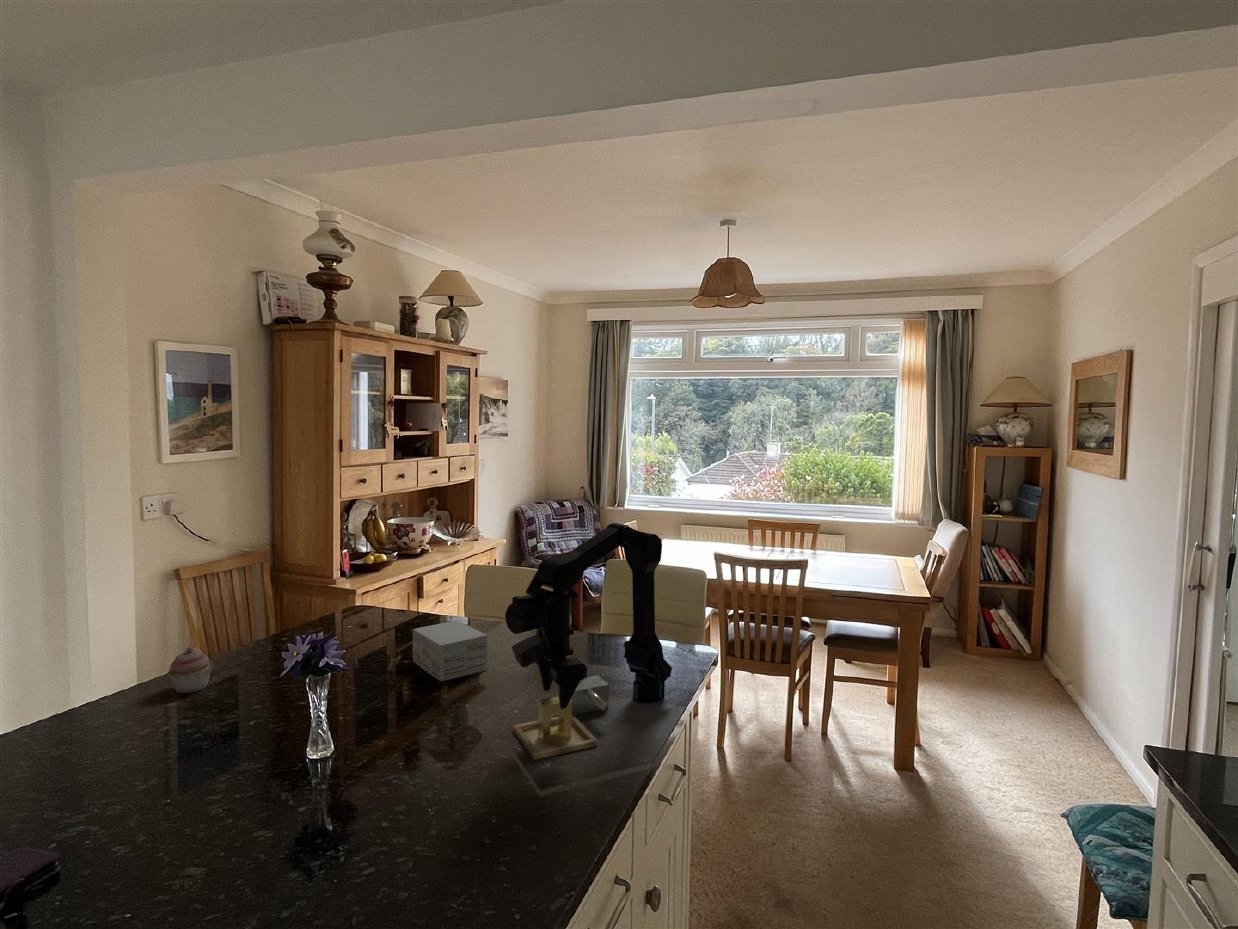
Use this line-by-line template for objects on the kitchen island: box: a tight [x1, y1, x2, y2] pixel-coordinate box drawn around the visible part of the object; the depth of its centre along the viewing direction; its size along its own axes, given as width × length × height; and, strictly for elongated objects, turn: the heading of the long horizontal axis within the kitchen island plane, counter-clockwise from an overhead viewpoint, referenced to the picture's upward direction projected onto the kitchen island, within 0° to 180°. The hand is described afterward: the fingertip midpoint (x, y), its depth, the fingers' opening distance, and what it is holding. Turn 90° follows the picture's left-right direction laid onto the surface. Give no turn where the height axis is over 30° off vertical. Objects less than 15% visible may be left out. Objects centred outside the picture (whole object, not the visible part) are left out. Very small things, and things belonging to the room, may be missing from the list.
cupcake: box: [166, 646, 215, 694], centre depth 155 cm, size 9×9×10 cm
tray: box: [512, 714, 598, 761], centre depth 134 cm, size 13×13×2 cm
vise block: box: [556, 674, 610, 716], centre depth 145 cm, size 11×14×6 cm
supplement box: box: [412, 619, 488, 682], centre depth 172 cm, size 17×13×9 cm
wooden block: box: [537, 696, 572, 744], centre depth 133 cm, size 6×3×8 cm, turn 117°
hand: (554, 699), depth 133 cm, fingers open, 9 cm apart
